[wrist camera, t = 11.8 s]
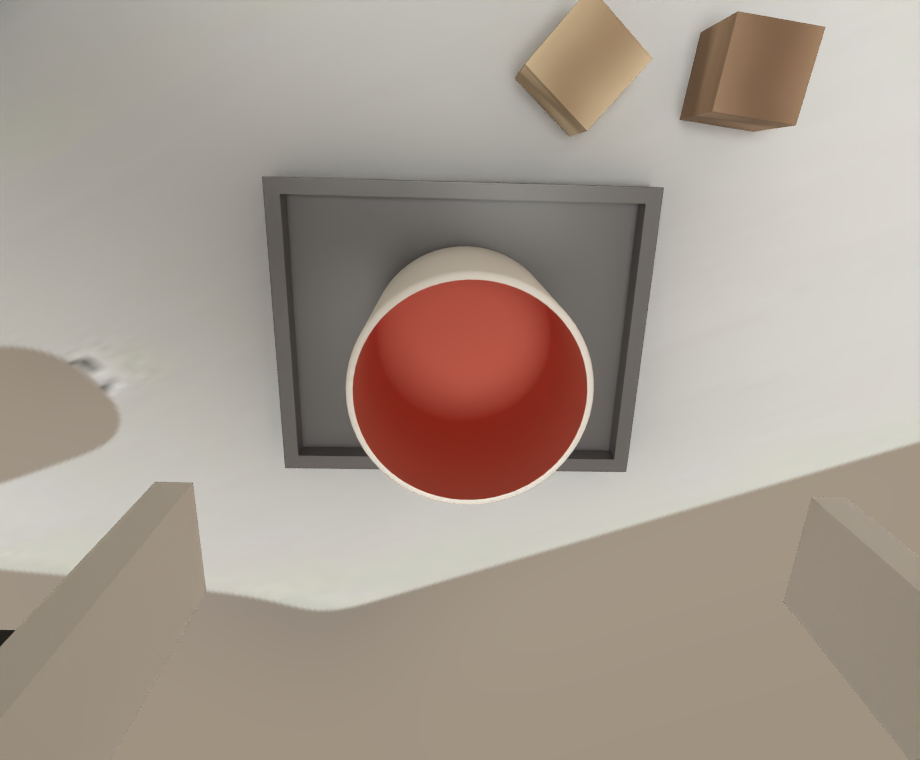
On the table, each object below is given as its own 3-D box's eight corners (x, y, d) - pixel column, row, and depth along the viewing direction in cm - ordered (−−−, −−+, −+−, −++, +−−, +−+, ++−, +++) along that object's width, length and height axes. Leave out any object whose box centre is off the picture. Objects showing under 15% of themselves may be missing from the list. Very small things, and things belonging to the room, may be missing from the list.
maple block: (514, 78, 30) (524, 63, 26) (571, 12, 29) (590, -14, 25) (569, 136, 31) (587, 130, 27) (626, 73, 30) (652, 58, 26)
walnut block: (679, 119, 30) (712, 111, 27) (700, 33, 29) (737, 11, 25) (752, 131, 31) (795, 125, 27) (776, 46, 29) (825, 27, 26)
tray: (293, 452, 36) (285, 467, 34) (273, 176, 31) (262, 176, 29) (616, 456, 37) (626, 471, 35) (650, 186, 31) (663, 187, 30)
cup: (454, 448, 35) (457, 547, 26) (336, 325, 33) (292, 385, 23) (587, 342, 33) (643, 407, 24) (473, 203, 31) (486, 214, 21)
